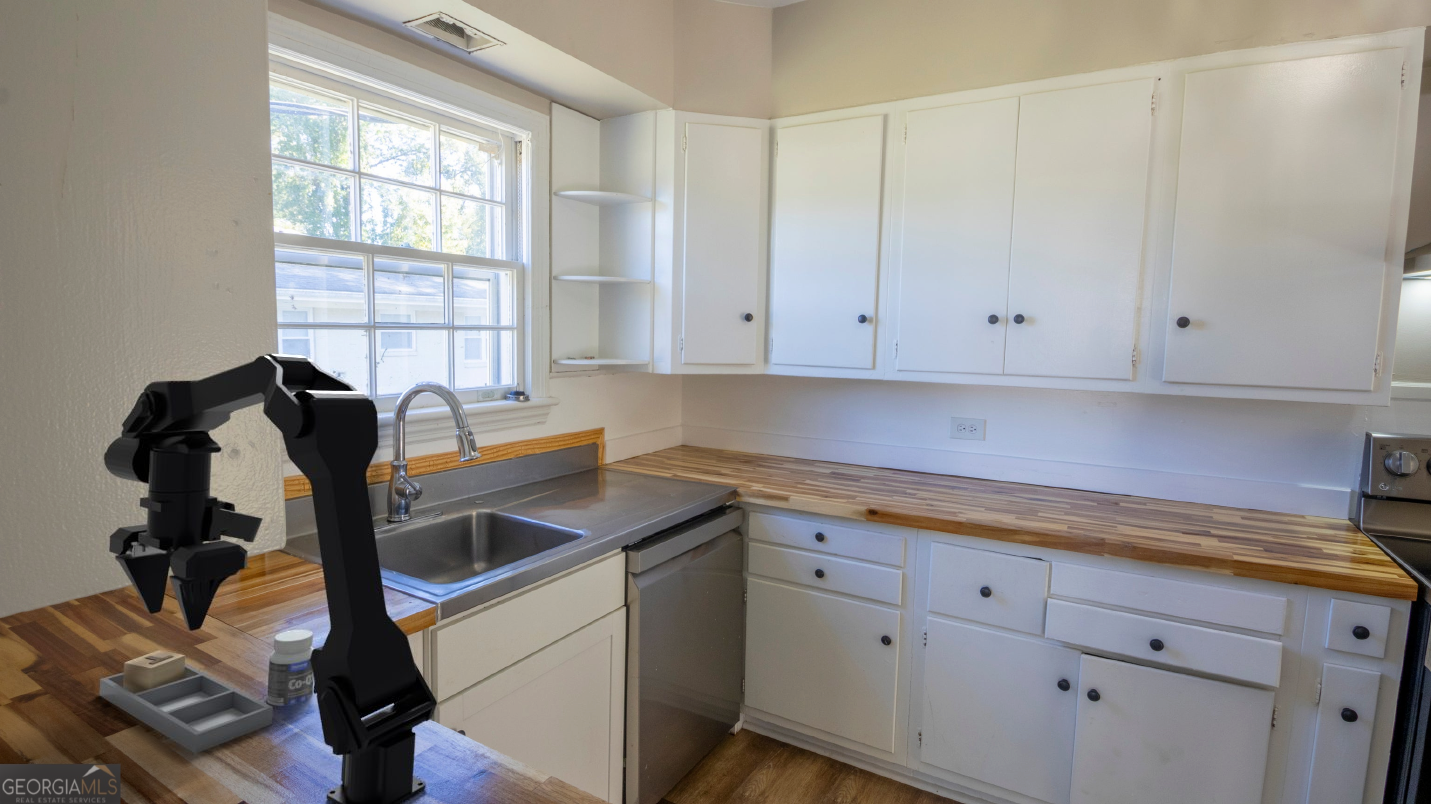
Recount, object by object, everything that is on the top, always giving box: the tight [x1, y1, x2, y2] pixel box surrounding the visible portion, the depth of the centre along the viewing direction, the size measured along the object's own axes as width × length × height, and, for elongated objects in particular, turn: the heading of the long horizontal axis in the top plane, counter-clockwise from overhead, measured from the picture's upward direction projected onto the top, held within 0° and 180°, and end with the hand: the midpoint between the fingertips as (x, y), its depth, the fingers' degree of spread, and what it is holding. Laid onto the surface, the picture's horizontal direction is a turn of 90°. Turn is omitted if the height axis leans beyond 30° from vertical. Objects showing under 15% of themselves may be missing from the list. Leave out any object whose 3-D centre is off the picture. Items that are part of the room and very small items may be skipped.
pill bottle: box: [266, 629, 315, 707], centre depth 83 cm, size 5×5×8 cm
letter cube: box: [123, 649, 186, 694], centre depth 82 cm, size 4×4×4 cm
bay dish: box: [99, 662, 274, 755], centre depth 78 cm, size 22×8×3 cm, turn 62°
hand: (174, 621), depth 81 cm, fingers open, 9 cm apart
